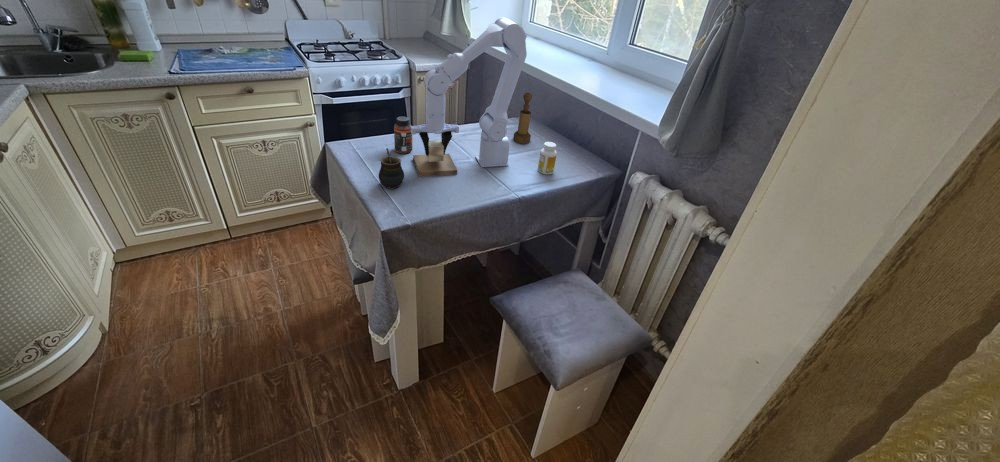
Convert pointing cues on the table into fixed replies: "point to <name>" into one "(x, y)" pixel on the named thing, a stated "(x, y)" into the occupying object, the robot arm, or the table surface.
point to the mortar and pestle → (524, 122)
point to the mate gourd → (391, 172)
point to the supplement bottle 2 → (547, 158)
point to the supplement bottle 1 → (403, 135)
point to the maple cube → (435, 151)
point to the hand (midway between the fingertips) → (434, 154)
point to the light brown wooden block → (434, 166)
